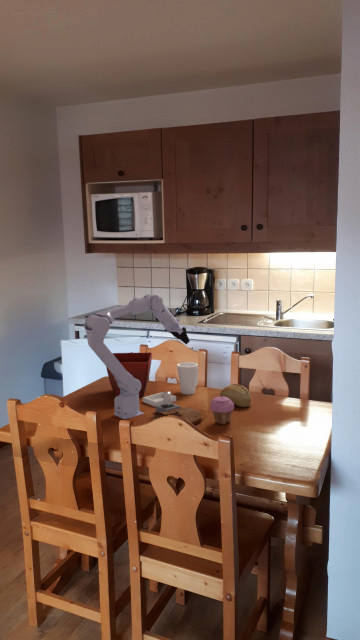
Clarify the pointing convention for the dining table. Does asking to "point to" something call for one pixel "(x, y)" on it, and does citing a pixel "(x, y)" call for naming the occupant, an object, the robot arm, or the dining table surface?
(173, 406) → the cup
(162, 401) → the tray
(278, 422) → the dining table surface
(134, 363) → the plant pot
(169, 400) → the pin
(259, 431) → the dining table surface
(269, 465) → the dining table surface
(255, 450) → the dining table surface
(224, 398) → the cupcake
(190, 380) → the foam cup
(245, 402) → the bread roll
